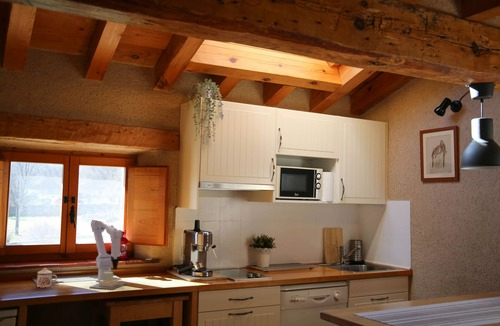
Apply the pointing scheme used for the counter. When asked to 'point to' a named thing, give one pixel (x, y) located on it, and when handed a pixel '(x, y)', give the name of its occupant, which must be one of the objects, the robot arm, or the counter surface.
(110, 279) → the sage cube
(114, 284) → the stacking base
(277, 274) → the counter surface
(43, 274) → the teacup with lid
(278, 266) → the counter surface
